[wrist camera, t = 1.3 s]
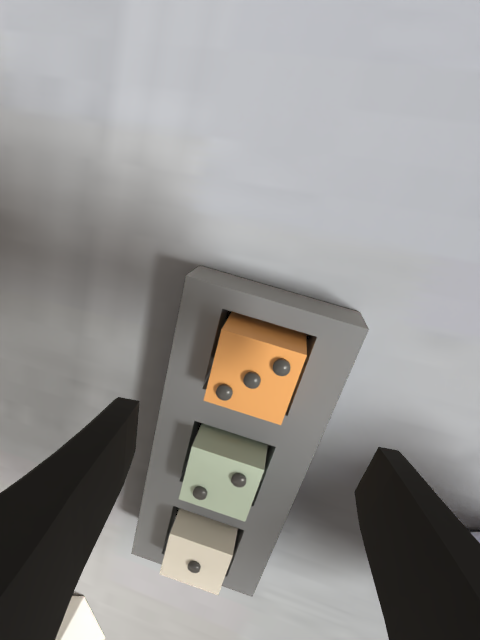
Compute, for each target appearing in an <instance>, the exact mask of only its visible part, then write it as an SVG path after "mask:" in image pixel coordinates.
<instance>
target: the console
mask: <svg viewBox="0 0 480 640" xmlns="http://www.w3.org/2000/svg"><path fill="white" fill-rule="evenodd" d="M228 310H229V311H232V312H236V313H239V314H242V315H246V316H249V317H252V318H256V319H259V320H262V321H266V322H269V323H272V324H276V325H279V326H282V327H286V328H289V329H292V330H296V331H299V332H302V333H306V334H309V338H308V340H307V357H306V359H305V362H304V365H303V368H302V370H301V373H300V376H299V378H298V381H297V384H296V386H295V389H294V392H293V394H292V397H291V400H290V403H289V405H288V408H287V411H286V413H285V416H284V419H283V421H282V424H281V425H278V424H275V423H272V422H269V421H266V420H263V419H260V418H256V417H253V416H250V415H247V414H244V413H241V412H238V411H235V410H231V409H228V408H225V407H222V406H219V405H216V404H213V403H210V402H206V401H203V400H204V396H205V393H206V389H207V385H208V381H209V377H210V373H211V369H212V365H213V361H214V357H215V353H216V349H217V345H218V341H219V337H220V333H221V329H222V328H223V326H224V323H225V319H226V315H227V311H228ZM368 330H369V329H368V327H367V325H366V323H365V321H364V319H363V317H362V315H361V313H360V312H358V311H354V310H351V309H347V308H344V307H340V306H337V305H334V304H330V303H327V302H323V301H320V300H317V299H313V298H310V297H306V296H303V295H299V294H296V293H293V292H289V291H286V290H282V289H279V288H275V287H272V286H269V285H265V284H262V283H258V282H255V281H252V280H248V279H245V278H241V277H238V276H234V275H231V274H228V273H224V272H221V271H217V270H214V269H211V268H207V267H204V266H199V267H197V268H196V269H194V270H193V271H191V272H190V273H188V274H187V275H186V277H185V282H184V287H183V292H182V297H181V303H180V308H179V313H178V318H177V323H176V328H175V333H174V338H173V343H172V349H171V354H170V359H169V364H168V369H167V374H166V379H165V384H164V390H163V395H162V400H161V405H160V410H159V415H158V420H157V425H156V430H155V436H154V441H153V446H152V451H151V456H150V461H149V466H148V471H147V477H146V482H145V487H144V492H143V497H142V502H141V507H140V512H139V517H138V523H137V528H136V533H135V538H134V543H133V548H132V553H131V554H134V555H137V556H139V557H142V558H145V559H148V560H151V561H153V562H156V563H159V564H162V563H163V559H164V555H165V551H166V547H167V543H168V539H169V535H170V532H171V529H172V527H173V524H174V520H175V516H176V512H177V508H181V509H184V510H187V511H190V512H192V513H195V514H198V515H201V516H204V517H207V518H210V519H213V520H216V521H219V522H222V523H224V524H227V525H230V526H233V527H236V528H239V530H238V532H237V536H236V541H235V546H234V552H233V556H232V559H231V562H230V564H229V567H228V570H227V572H226V575H225V578H224V580H223V583H222V586H224V587H226V588H229V589H232V590H235V591H238V592H240V593H243V594H246V595H249V596H253V594H254V592H255V590H256V587H257V585H258V583H259V580H260V578H261V576H262V574H263V571H264V569H265V567H266V564H267V562H268V560H269V557H270V555H271V553H272V551H273V548H274V546H275V544H276V541H277V539H278V537H279V534H280V532H281V530H282V528H283V525H284V523H285V521H286V518H287V516H288V514H289V512H290V509H291V507H292V505H293V502H294V500H295V498H296V495H297V493H298V491H299V489H300V486H301V484H302V482H303V479H304V477H305V475H306V472H307V470H308V468H309V466H310V463H311V461H312V459H313V456H314V454H315V452H316V450H317V447H318V445H319V443H320V440H321V438H322V436H323V433H324V431H325V429H326V427H327V424H328V422H329V420H330V417H331V415H332V413H333V410H334V408H335V406H336V404H337V401H338V399H339V397H340V394H341V392H342V390H343V388H344V385H345V383H346V381H347V378H348V376H349V374H350V371H351V369H352V367H353V365H354V362H355V360H356V358H357V355H358V353H359V351H360V348H361V346H362V344H363V342H364V339H365V337H366V335H367V332H368ZM199 422H200V423H203V424H207V425H210V426H213V427H216V428H219V429H222V430H225V431H228V432H231V433H234V434H237V435H240V436H243V437H247V438H250V439H253V440H256V441H259V442H262V443H265V444H268V445H269V447H268V450H267V454H266V462H265V470H264V473H263V475H262V478H261V481H260V483H259V486H258V489H257V492H256V494H255V497H254V500H253V502H252V505H251V508H250V510H249V513H248V516H247V518H246V521H245V522H244V521H241V520H238V519H236V518H233V517H230V516H227V515H224V514H221V513H218V512H215V511H212V510H209V509H206V508H203V507H200V506H198V505H195V504H192V503H189V502H186V501H183V500H180V499H179V495H180V491H181V487H182V483H183V479H184V476H185V472H186V468H187V464H188V460H189V456H190V452H191V448H192V445H193V443H194V440H195V437H196V433H197V429H198V425H199Z"/></svg>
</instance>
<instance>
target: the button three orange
mask: <svg viewBox="0 0 480 640" xmlns="http://www.w3.org/2000/svg"><path fill="white" fill-rule="evenodd" d="M306 357H307V342H306V333H302V332H299V331H296V330H292V329H289V328H286V327H282V326H279V325H276V324H272V323H269V322H266V321H262V320H259V319H256V318H252V317H249V316H246V315H242V314H239V313H236V312H231V314H230V316H229V317H228V319H227V321H226V322H225V324H224V326H223V328H222V329H221V333H220V337H219V341H218V345H217V349H216V353H215V357H214V361H213V365H212V369H211V373H210V377H209V381H208V385H207V389H206V393H205V396H204V400H203V401H206V402H210V403H213V404H216V405H219V406H222V407H225V408H228V409H231V410H235V411H238V412H241V413H244V414H247V415H250V416H253V417H256V418H260V419H263V420H266V421H269V422H272V423H275V424H278V425H281V424H282V421H283V419H284V416H285V413H286V411H287V408H288V405H289V403H290V400H291V397H292V394H293V392H294V389H295V386H296V384H297V381H298V378H299V376H300V373H301V370H302V368H303V365H304V362H305V359H306Z"/></svg>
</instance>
